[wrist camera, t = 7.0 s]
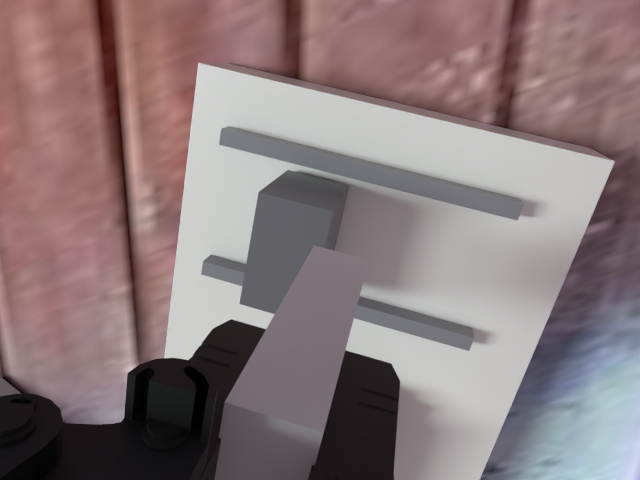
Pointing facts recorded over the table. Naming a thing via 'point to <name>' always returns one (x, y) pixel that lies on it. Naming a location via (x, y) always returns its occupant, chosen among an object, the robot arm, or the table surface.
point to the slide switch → (289, 234)
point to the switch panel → (393, 242)
